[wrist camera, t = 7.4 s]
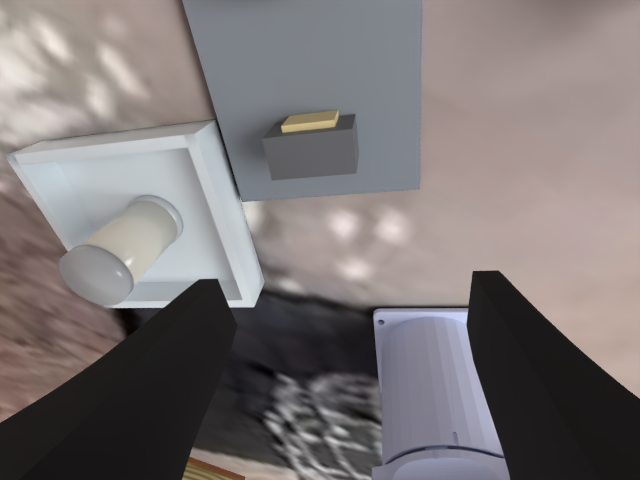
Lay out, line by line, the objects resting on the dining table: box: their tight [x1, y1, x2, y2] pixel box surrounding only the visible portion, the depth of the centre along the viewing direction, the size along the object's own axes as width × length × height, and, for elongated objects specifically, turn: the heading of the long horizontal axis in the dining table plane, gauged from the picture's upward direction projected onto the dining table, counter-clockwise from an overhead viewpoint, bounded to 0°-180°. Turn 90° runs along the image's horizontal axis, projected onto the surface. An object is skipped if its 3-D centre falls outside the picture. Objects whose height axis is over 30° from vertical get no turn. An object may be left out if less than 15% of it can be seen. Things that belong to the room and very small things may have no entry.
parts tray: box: [5, 120, 265, 308], centre depth 21 cm, size 11×11×2 cm
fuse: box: [58, 195, 184, 306], centre depth 19 cm, size 3×3×6 cm
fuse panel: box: [182, 0, 422, 202], centre depth 14 cm, size 14×10×3 cm
